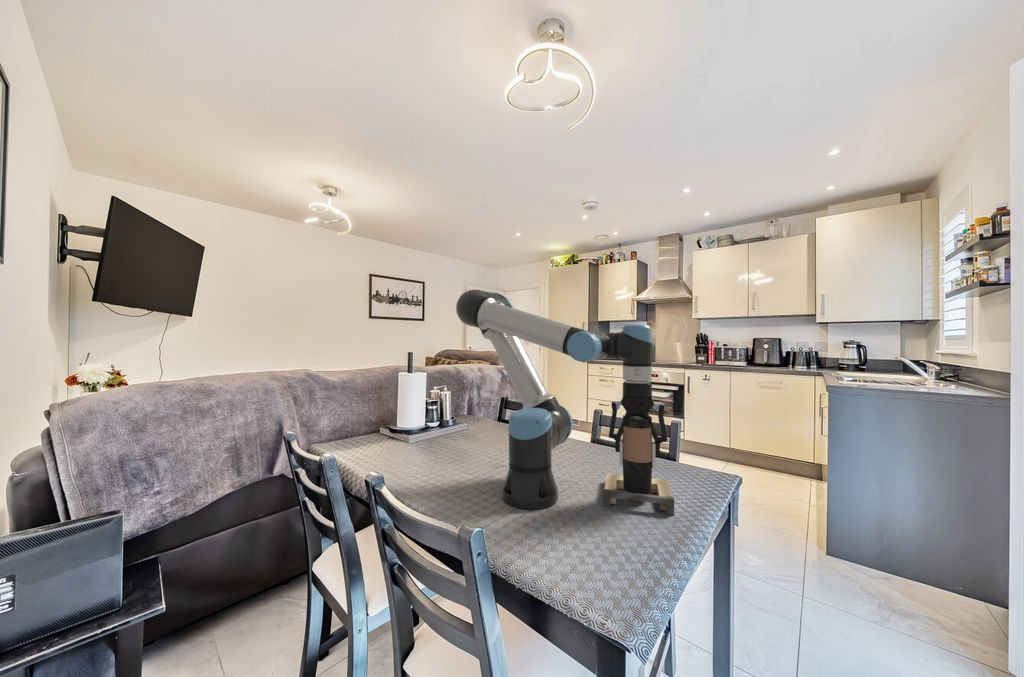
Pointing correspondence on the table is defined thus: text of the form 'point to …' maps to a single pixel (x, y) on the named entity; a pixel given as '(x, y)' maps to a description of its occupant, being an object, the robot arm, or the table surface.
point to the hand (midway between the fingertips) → (637, 465)
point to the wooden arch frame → (656, 486)
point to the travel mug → (637, 455)
